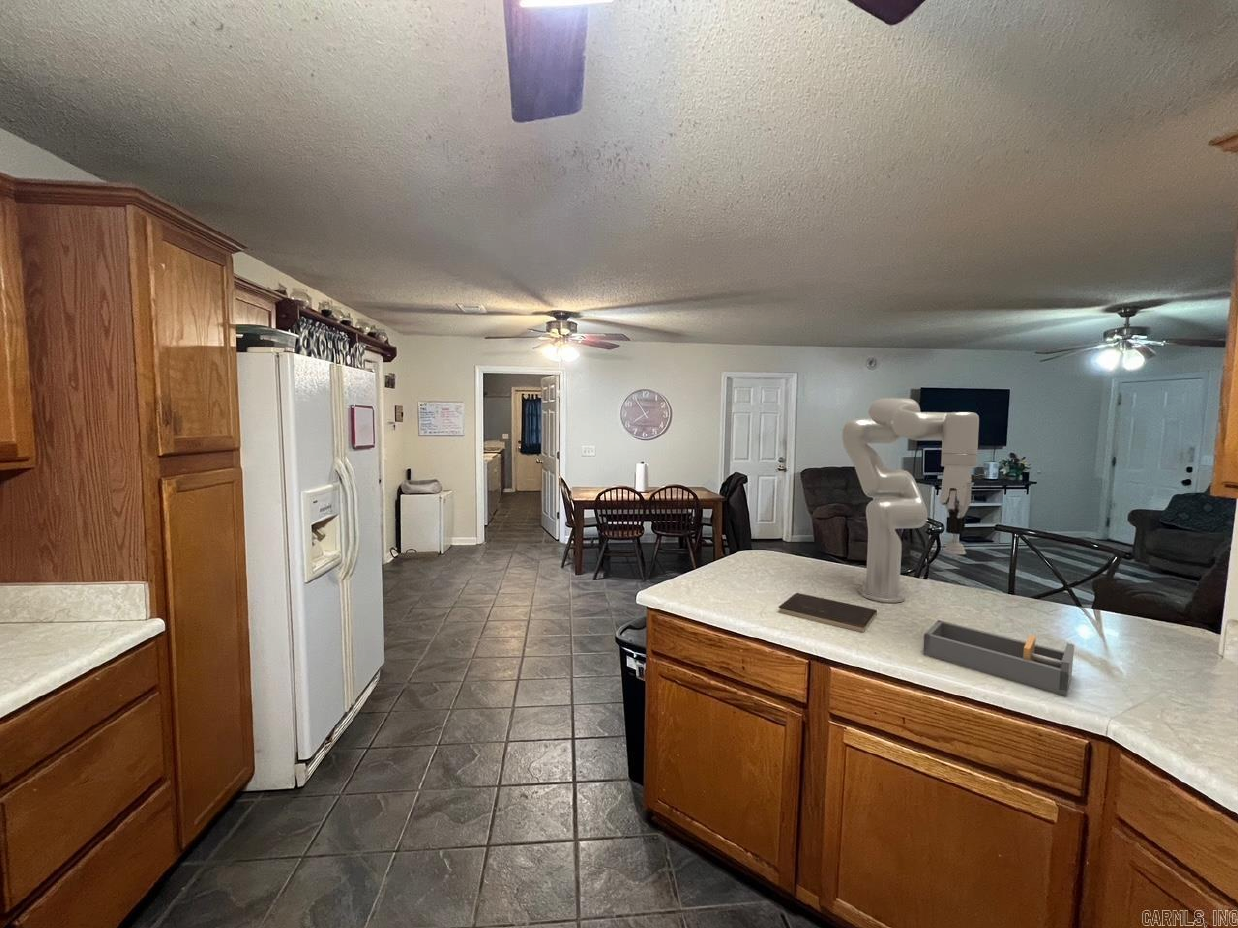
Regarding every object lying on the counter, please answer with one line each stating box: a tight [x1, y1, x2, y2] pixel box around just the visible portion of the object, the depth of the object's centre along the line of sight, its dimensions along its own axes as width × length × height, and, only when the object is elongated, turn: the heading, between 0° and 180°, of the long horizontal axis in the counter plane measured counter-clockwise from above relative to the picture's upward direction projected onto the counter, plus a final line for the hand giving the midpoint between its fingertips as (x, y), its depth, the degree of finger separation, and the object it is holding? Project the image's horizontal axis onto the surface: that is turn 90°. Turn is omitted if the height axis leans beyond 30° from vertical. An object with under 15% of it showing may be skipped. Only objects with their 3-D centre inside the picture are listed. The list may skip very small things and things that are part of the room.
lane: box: [922, 619, 1075, 697], centre depth 117 cm, size 26×12×7 cm, turn 45°
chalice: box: [942, 481, 975, 555], centre depth 130 cm, size 7×7×18 cm
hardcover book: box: [778, 592, 878, 633], centre depth 148 cm, size 16×23×2 cm
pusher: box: [1023, 634, 1062, 666], centre depth 111 cm, size 6×9×6 cm
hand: (955, 531), depth 131 cm, fingers closed on chalice, 3 cm apart
